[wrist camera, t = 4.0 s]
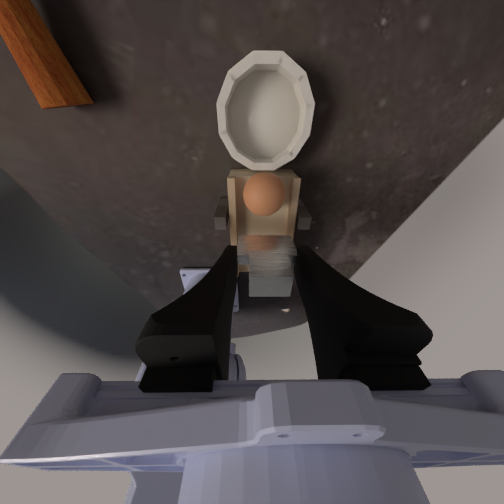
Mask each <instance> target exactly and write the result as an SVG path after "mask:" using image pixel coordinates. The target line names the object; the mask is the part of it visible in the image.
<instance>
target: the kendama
mask: <svg viewBox="0 0 504 504" xmlns="http://www.w3.org/2000/svg"><path fill="white" fill-rule="evenodd" d="M0 34H1V36H2V38H3V39H4V41H5V43H6V45H7V47H8V48H9V50H10V52H11V54H12V56H13V57H14V59H15V61H16V63H17V65H18V66H19V68H20V70H21V72H22V74H23V75H24V77H25V79H26V81H27V83H28V84H29V86H30V88H31V90H32V92H33V93H34V95H35V97H36V99H37V101H38V102H39V104H40V106H41V108H42V109H49V108H61V107H70V106H79V105H86V104H93V103H94V102H93V101H92V99H91V97H90V96H89V94H88V92H87V91H86V89H85V88H84V86H83V84H82V83H81V81H80V80H79V78H78V76H77V75H76V73H75V71H74V70H73V68H72V67H71V65H70V63H69V62H68V60H67V59H66V57H65V55H64V54H63V52H62V50H61V49H60V47H59V46H58V44H57V42H56V41H55V39H54V38H53V36H52V34H51V33H50V31H49V29H48V28H47V26H46V25H45V23H44V21H43V20H42V18H41V17H40V15H39V13H38V12H37V10H36V8H35V7H34V5H33V4H32V2H31V0H0Z"/></svg>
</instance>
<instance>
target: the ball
mask: <svg viewBox="0 0 504 504" xmlns="http://www.w3.org/2000/svg"><path fill="white" fill-rule="evenodd" d="M285 195H286V192H285V187H284V184H283V182H282V181H281V179H280V178H279V177H278V176H277V175H275V174H273V173H270V172H259V173H256V174H254V175H253V176H252V177H250V178H249V180H248V181H247V182H246V184H245V187H244V191H243V198H244V202H245V204H246V206H247V208H248V209H249V210H250V211H251V212H253V213H254V214H256V215H259V216H269V215H272V214H274V213H275V212H277V211H278V210H279V209H280V208H281V207H282V205H283V203H284V200H285Z"/></svg>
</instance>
